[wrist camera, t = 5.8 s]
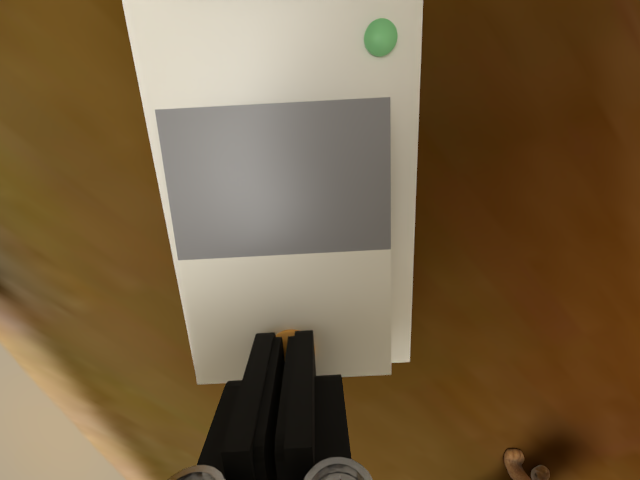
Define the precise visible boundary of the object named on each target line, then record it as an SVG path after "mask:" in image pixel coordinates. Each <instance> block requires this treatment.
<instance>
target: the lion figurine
mask: <svg viewBox="0 0 640 480" xmlns="http://www.w3.org/2000/svg"><path fill="white" fill-rule="evenodd" d="M523 462H524V456H523V453H522V451H521V450H519V449H507V450H506V452H505V454H504V463H505V466H506V468H507V471H508V473H509V475H510V476H511V478H512V479H513V480H531V479H532V480H548V479H549V478H550V471H549V469H548V468H547V467H545V466H543V465H538V466H536V467H535V468H533V469H532V471H531V479H530V478H529V476H528V475H527V474H526V473H525V472H524V469H523V467H522V464H523Z"/></svg>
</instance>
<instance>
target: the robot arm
mask: <svg viewBox="0 0 640 480" xmlns="http://www.w3.org/2000/svg"><path fill="white" fill-rule="evenodd" d="M168 480H373V479H372V477H371V475H370V474H369V472H368V471H367V470H366V469H365V468H364V467H363V466H362V465H361V464H359V463H357V462H356V461H354V460H352V459H351V453H350V444H349V436H348V427H347V419H346V410H345V402H344V393H343V385H342V377H341V374H337V375H320V376H316V365H315V350H314V336H313V330H305V331H295V335H294V336H288V340H287V348H286V356H285V360H284V350H283V340H282V337H276V335H275V332H271V333H257V334H256V335H255V338H254V342H253V345H252V348H251V352H250V355H249V359H248V362H247V365H246V369H245V372H244V376H243V379H242V380H234V381H228V382H227V383H226V385H225V387H224V390H223V393H222V396H221V399H220V402H219V404H218V407H217V410H216V413H215V416H214V418H213V421H212V424H211V427H210V430H209V432H208V435H207V438H206V441H205V444H204V446H203V449H202V452H201V455H200V458H199V460H198V463H197V465H195V466H191V467H188V468H186V469H183V470H181V471H179V472H178V473H176V474H174V475H173V476H171V477H170V478H169V479H168Z"/></svg>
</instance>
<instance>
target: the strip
mask: <svg viewBox="0 0 640 480" xmlns="http://www.w3.org/2000/svg"><path fill="white" fill-rule="evenodd" d="M122 3H123V8H124V13H125V18H126V24H127V29H128V34H129V39H130V44H131V49H132V54H133V59H134V64H135V69H136V74H137V79H138V84H139V89H140V94H141V99H142V104H143V109H144V115H145V120H146V125H147V130H148V135H149V140H150V145H151V150H152V155H153V160H154V165H155V170H156V175H157V180H158V185H159V190H160V195H161V201H162V206H163V211H164V216H165V221H166V226H167V231H168V236H169V241H170V246H171V251H172V256H173V261H174V266H175V271H176V276H177V281H178V286H179V292H180V297H181V302H182V307H183V312H184V317H185V322H186V327H187V332H188V337H189V342H190V347H191V341H190V334H189V328H188V321H187V315H186V308H185V302H184V296H183V289H182V283H181V276H180V270H179V263H178V257H177V250H176V244H175V237H174V231H173V224H172V218H171V211H170V205H169V199H168V192H167V186H166V179H165V173H164V166H163V160H162V153H161V147H160V140H159V134H158V127H157V121H156V114H155V110H158V109H176V108H195V107H214V106H232V105H251V104H270V103H288V102H307V101H325V100H344V99H363V98H381V97H390V126H391V363H400V362H410V343H411V316H412V289H413V262H414V235H415V208H416V181H417V154H418V127H419V100H420V73H421V46H422V19H423V0H122ZM191 352H192V347H191ZM192 357H193V354H192ZM193 362H194V360H193Z"/></svg>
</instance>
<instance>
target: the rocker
mask: <svg viewBox="0 0 640 480" xmlns="http://www.w3.org/2000/svg"><path fill="white" fill-rule="evenodd" d="M155 114H156V121H157V127H158V134H159V140H160V147H161V153H162V160H163V166H164V173H165V179H166V186H167V192H168V199H169V205H170V211H171V218H172V224H173V231H174V237H175V244H176V250H177V257H178V263H179V270H180V276H181V283H182V289H183V296H184V302H185V308H186V315H187V321H188V328H189V334H190V341H191V347H192V354H193V360H194V367H195V373H196V380H197V384H217V383H227V382H228V381H234V380H242V379H243V376H244V372H245V369H246V365H247V362H248V359H249V355H250V352H251V348H252V345H253V342H254V338H255V335H256V334H257V333H271V332H275V335H276V337H282V340H283V350H284V360H285V356H286V348H287V340H288V336H294V335H295V331H305V330H313V336H314V350H315V365H316V376H320V375H337V374H341V377H353V376H373V375H391V126H390V97H381V98H363V99H344V100H325V101H307V102H288V103H270V104H251V105H232V106H214V107H195V108H176V109H158V110H155Z"/></svg>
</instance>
